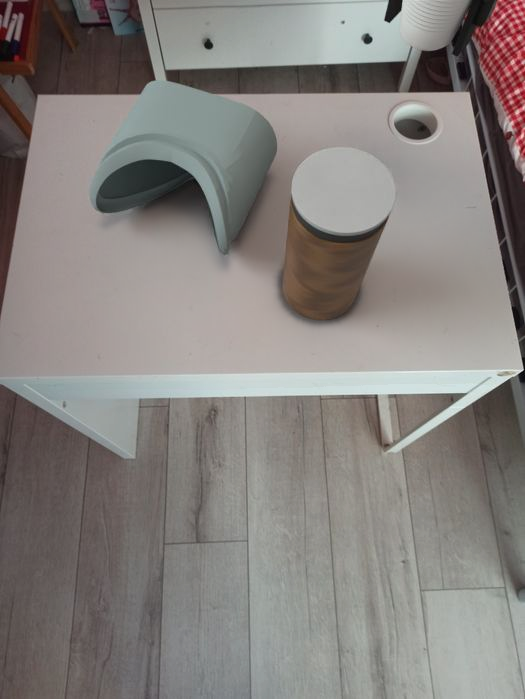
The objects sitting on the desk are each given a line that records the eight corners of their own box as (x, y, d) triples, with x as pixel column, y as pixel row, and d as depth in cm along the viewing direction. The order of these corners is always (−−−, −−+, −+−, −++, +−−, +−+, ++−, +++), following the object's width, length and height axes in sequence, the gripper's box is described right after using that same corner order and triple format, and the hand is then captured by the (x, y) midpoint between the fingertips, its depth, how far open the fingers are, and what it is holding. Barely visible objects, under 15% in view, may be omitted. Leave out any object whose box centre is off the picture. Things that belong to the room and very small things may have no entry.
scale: (409, 193, 54) (415, 179, 51) (355, 263, 51) (359, 251, 48) (327, 145, 56) (330, 130, 54) (270, 209, 53) (270, 196, 51)
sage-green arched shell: (276, 176, 79) (278, 113, 67) (231, 273, 73) (225, 222, 61) (153, 137, 81) (134, 69, 69) (100, 227, 75) (69, 170, 63)
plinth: (370, 279, 72) (409, 193, 54) (329, 334, 69) (355, 263, 51) (310, 241, 75) (327, 145, 56) (267, 292, 72) (270, 209, 53)
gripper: (373, -301, 35) (331, 11, 57) (651, -209, 31) (493, 92, 52) (425, -337, 38) (366, -23, 59) (693, -256, 33) (524, 52, 54)
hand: (426, 31), depth 55 cm, fingers closed on cup, 8 cm apart
